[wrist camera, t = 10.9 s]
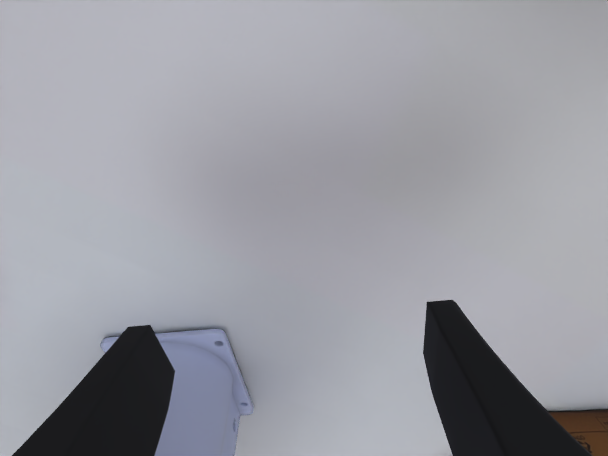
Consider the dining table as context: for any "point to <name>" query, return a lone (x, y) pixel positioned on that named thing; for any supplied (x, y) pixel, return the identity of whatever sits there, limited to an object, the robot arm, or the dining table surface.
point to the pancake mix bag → (587, 429)
